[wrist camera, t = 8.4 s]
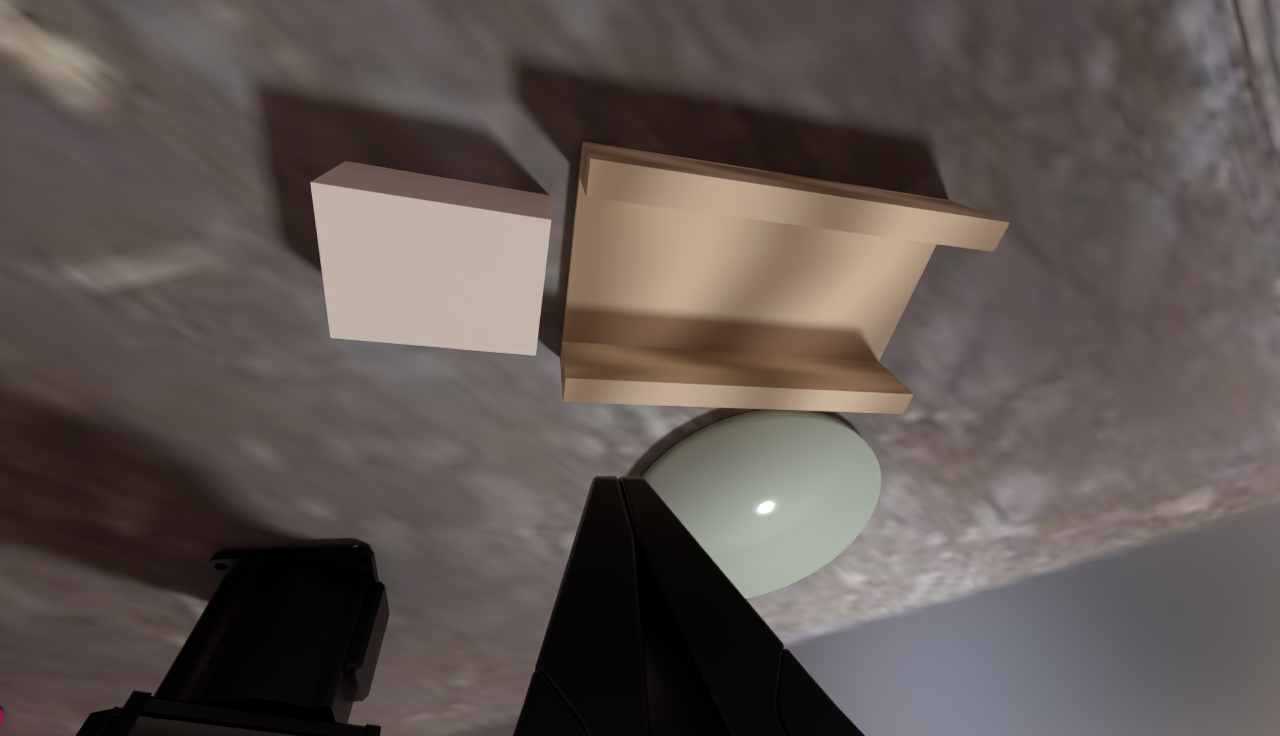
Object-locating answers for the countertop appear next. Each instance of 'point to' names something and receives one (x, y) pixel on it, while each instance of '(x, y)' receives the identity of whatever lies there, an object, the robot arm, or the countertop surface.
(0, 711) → the pepper mill
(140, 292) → the countertop surface
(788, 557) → the green plate
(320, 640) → the robot arm
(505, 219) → the cream block
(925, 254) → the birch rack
